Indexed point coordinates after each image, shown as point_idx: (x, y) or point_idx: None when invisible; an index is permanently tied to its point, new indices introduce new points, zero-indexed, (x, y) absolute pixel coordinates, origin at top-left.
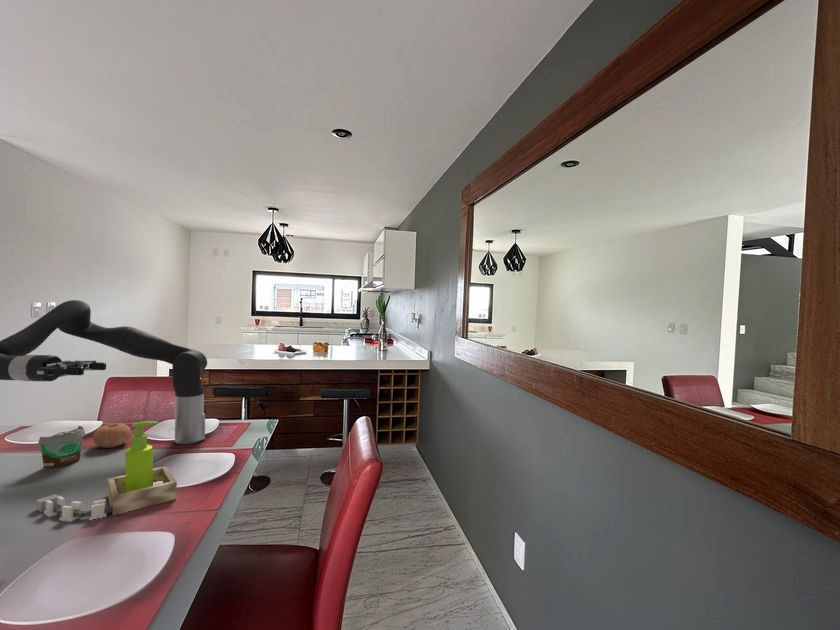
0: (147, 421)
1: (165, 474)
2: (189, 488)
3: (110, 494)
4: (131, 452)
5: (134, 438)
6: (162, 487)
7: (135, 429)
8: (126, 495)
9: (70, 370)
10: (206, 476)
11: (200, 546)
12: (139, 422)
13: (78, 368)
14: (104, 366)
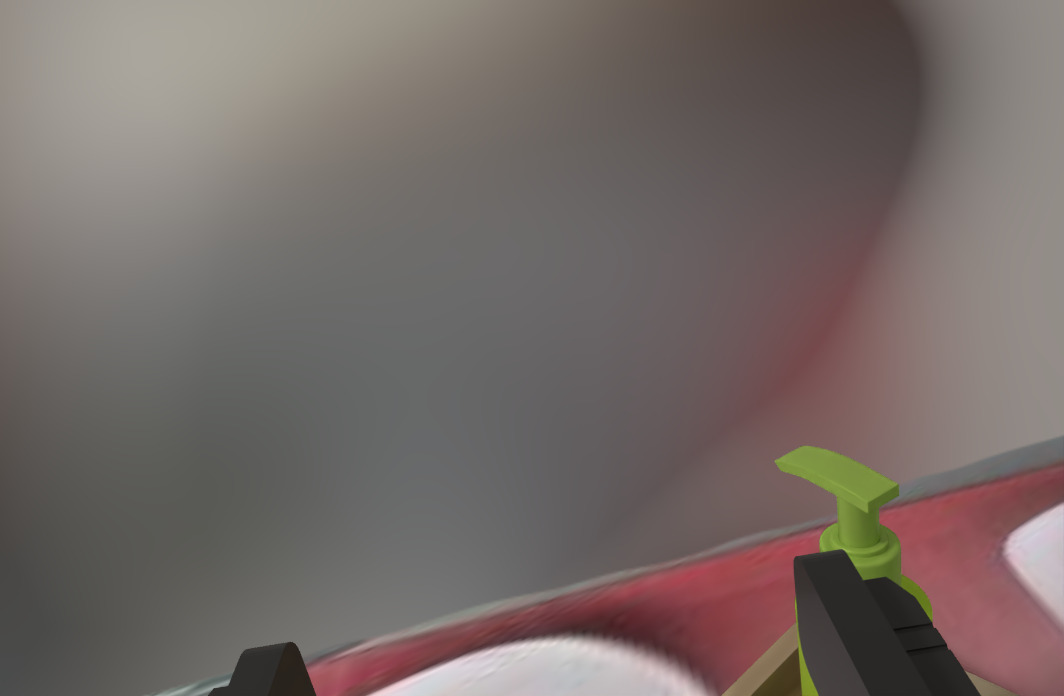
0: (819, 463)
1: (759, 690)
2: (724, 671)
3: None
4: (924, 596)
5: (898, 541)
6: None
7: (878, 511)
8: (1002, 691)
9: (962, 694)
10: (603, 679)
11: (1010, 469)
12: (851, 479)
13: (861, 588)
14: (310, 680)
